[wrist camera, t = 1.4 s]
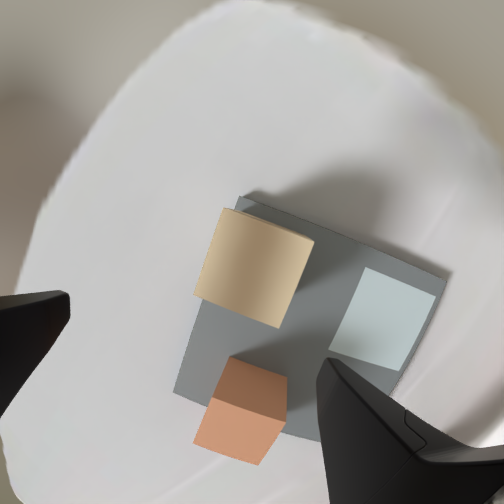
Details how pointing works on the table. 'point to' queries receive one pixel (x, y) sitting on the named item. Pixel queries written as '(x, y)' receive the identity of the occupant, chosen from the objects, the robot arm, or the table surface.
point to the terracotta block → (244, 412)
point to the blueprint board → (318, 323)
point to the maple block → (253, 266)
